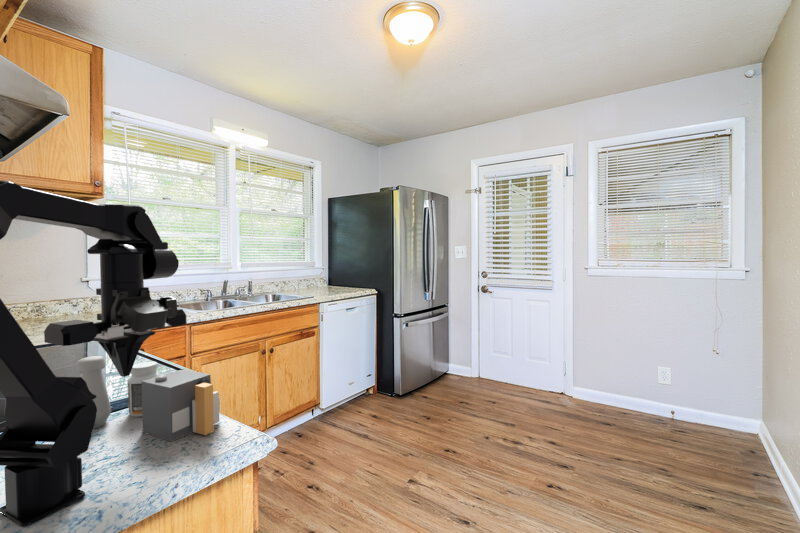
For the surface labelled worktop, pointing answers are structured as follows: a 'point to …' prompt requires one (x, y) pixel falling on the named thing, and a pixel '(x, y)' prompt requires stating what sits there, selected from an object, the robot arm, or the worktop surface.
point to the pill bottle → (139, 385)
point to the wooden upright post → (205, 408)
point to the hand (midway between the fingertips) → (125, 375)
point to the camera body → (170, 403)
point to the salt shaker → (96, 385)
